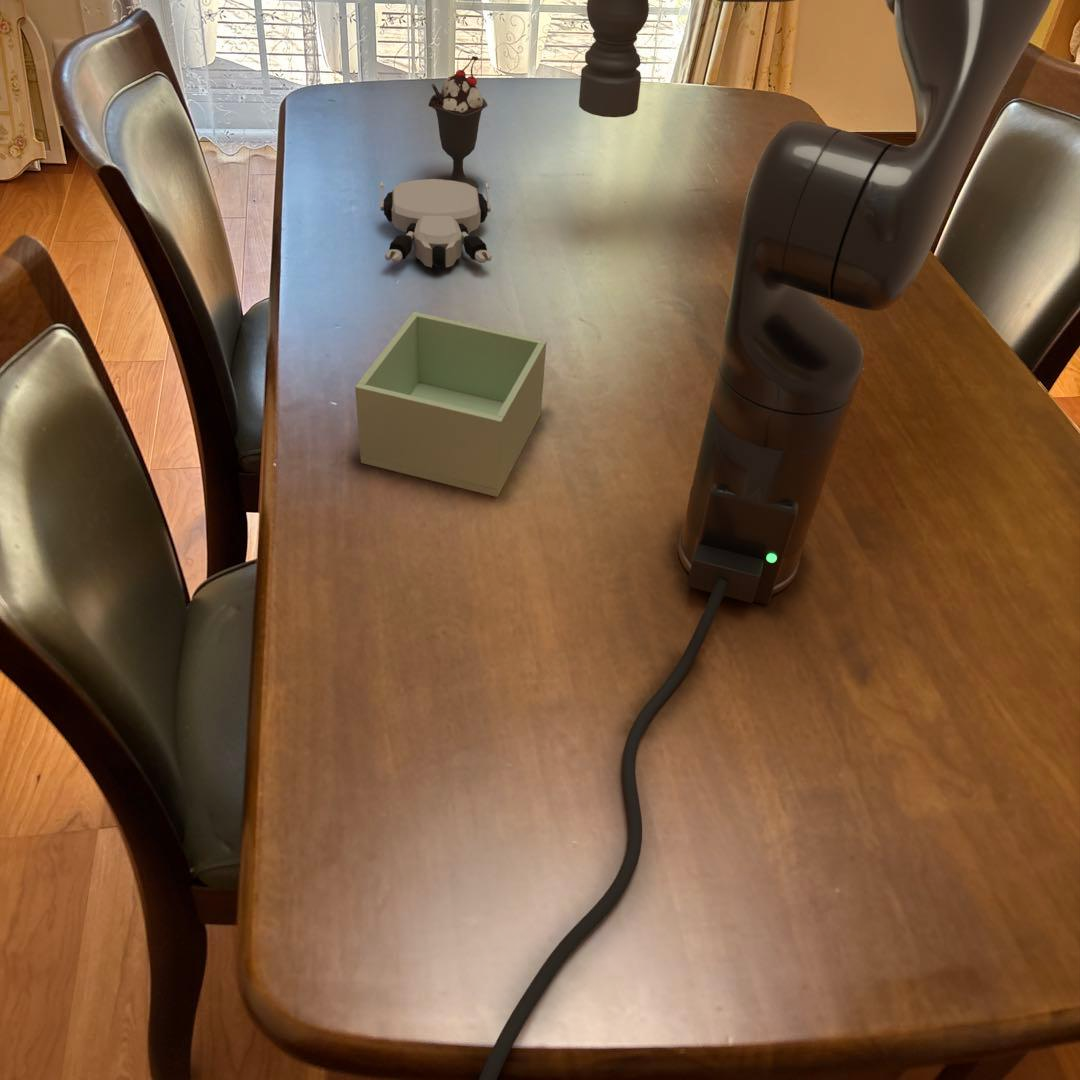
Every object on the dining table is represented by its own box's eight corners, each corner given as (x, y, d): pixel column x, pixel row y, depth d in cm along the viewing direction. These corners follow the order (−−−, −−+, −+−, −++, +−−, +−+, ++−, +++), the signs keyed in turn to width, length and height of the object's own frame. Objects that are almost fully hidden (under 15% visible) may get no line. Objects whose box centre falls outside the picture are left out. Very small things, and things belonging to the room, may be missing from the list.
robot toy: (496, 284, 110) (487, 210, 120) (497, 247, 107) (488, 175, 117) (381, 284, 109) (381, 209, 119) (379, 246, 106) (380, 173, 115)
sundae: (495, 184, 126) (500, 56, 116) (464, 202, 122) (465, 72, 112) (452, 169, 129) (452, 43, 118) (420, 187, 124) (417, 58, 114)
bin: (497, 497, 84) (501, 421, 79) (360, 463, 86) (354, 386, 81) (540, 414, 93) (546, 340, 87) (415, 384, 95) (413, 311, 89)
